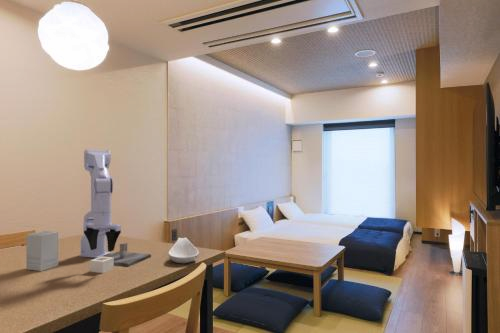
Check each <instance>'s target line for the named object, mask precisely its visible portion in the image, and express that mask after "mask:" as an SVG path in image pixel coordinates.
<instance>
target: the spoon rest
mask: <svg viewBox="0 0 500 333" xmlns="http://www.w3.org/2000/svg"><path fill="white" fill-rule="evenodd" d="M167 254H168V255H167V256H168V258H170V259H171V261H173V262H175V263H177V264H188V263H191V262H194V261H195V260H196V259H197V257H199V254H200V252H199V249H198V248H197V247H196V246H194V244H193V243H192V242H191V241H190V240H189V239H188V238H187V237H178V238H177V240H176V242H175V243H174V245H172V247H171V248H170V249H169V251H168V253H167Z"/></svg>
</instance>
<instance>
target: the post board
mask: <svg viewBox="0 0 500 333" xmlns="http://www.w3.org/2000/svg"><path fill="white" fill-rule="evenodd" d="M103 257H112V258H114V266H122V267H123V266H124V267H131V266H133V265H135V264H138V263H140V262H142V261H145V260H147V259H149V258H151V257H152V254H150V253H140V252H132V251H131V252H130V251H129V252H128V242H120V243H119V250H118V251H117V252H116V251H115V252H113V253H110V254H107V255H105V256H103Z"/></svg>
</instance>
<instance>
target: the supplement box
mask: <svg viewBox="0 0 500 333" xmlns="http://www.w3.org/2000/svg"><path fill="white" fill-rule="evenodd" d="M25 238H26V239H25V240H26V249H25V250H26V252H25V253H26V261H25V262H26V266H25V268H26V270H28V271H29V270H30V271H38V272H43V271H46V270H49V269H53V268H55V267H59V232H58V231H49V230H48V231H46V230H45V231H44V230H42V231H38V232H33V233H29V234H26V237H25Z"/></svg>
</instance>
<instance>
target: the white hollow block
mask: <svg viewBox="0 0 500 333" xmlns="http://www.w3.org/2000/svg"><path fill="white" fill-rule="evenodd" d="M89 264H90V265H89V266H90V268H89V269H90V270H89V272H90V273H98V274H104V273H107V272H110V271H112V270H114V266H115V265H114V258H112V257H104V256H102V257H99V258H93V259H90V260H89Z"/></svg>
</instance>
